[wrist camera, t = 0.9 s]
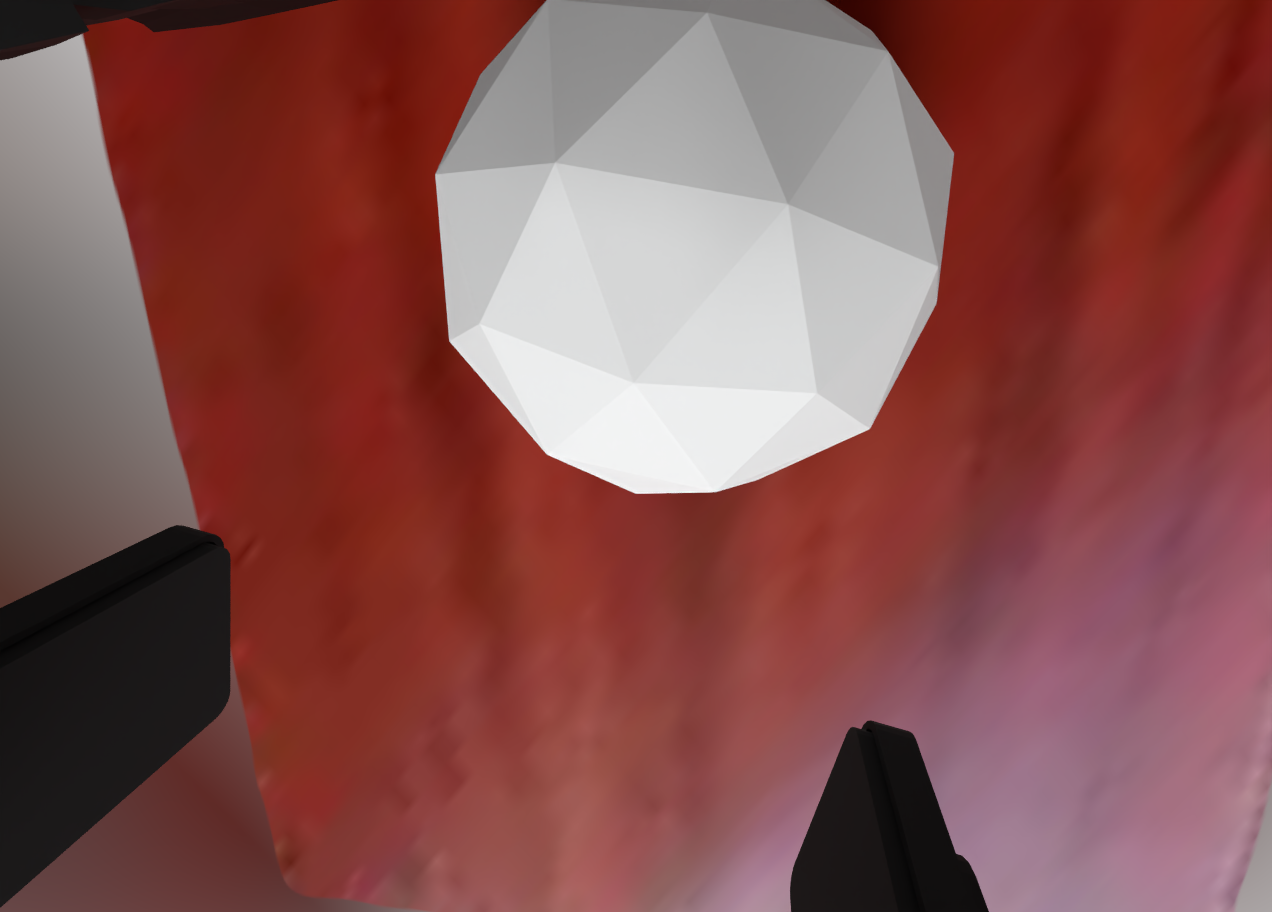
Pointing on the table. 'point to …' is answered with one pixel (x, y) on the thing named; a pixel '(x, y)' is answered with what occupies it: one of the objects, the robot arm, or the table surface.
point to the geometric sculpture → (691, 234)
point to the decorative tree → (119, 17)
